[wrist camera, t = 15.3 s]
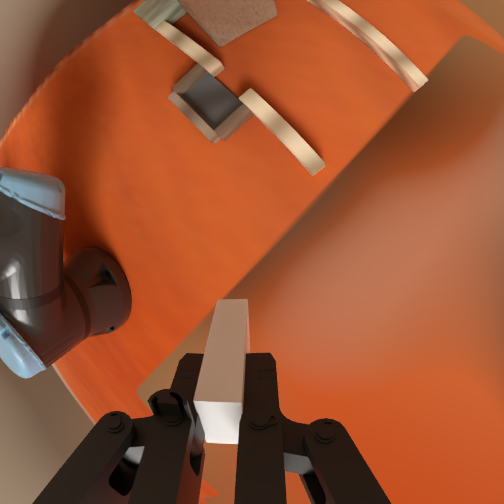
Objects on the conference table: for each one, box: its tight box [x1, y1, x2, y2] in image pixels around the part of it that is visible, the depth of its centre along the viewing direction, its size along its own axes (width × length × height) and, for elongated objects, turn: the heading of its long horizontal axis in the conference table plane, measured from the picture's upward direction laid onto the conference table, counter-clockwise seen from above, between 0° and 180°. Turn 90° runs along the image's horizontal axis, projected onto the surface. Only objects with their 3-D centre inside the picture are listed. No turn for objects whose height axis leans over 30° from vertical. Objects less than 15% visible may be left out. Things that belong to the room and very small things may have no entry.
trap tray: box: [133, 0, 428, 176], centre depth 25 cm, size 35×33×7 cm
